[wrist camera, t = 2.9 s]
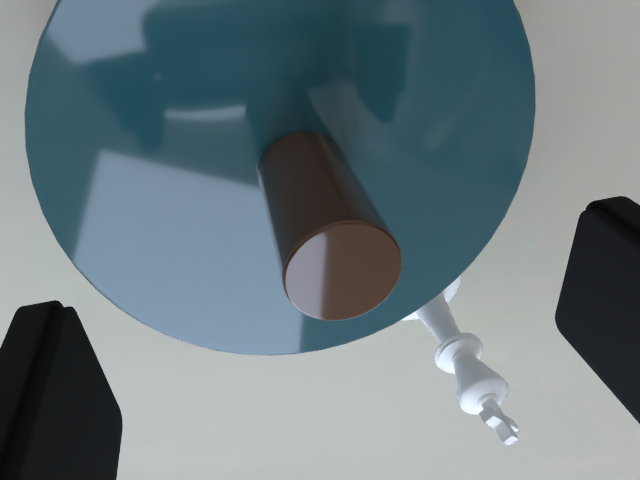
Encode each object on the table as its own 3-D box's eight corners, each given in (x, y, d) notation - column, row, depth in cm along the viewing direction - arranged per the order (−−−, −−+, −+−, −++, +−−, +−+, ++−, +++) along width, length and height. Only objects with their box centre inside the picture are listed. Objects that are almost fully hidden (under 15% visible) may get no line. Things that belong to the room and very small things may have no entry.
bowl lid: (552, -154, 13) (789, -195, 8) (489, 294, 21) (585, 420, 16) (-70, -104, 11) (-302, -114, 6) (122, 366, 19) (96, 536, 14)
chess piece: (415, 218, 25) (525, 373, 16) (475, 264, 27) (599, 420, 19) (347, 287, 26) (417, 462, 18) (410, 325, 28) (498, 495, 20)
